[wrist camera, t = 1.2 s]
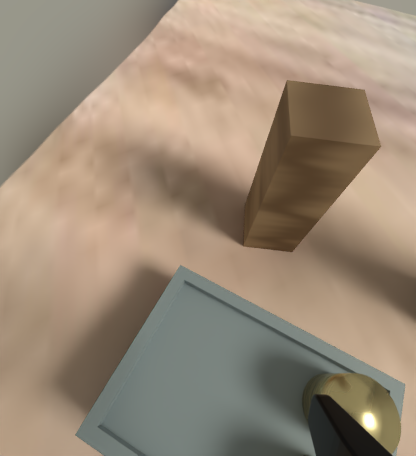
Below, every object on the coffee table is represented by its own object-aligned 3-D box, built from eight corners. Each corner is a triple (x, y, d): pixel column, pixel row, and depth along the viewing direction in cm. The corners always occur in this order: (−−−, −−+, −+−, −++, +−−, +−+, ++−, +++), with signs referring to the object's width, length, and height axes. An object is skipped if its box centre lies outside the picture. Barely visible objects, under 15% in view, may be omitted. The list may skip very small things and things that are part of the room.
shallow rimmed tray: (369, 382, 20) (405, 384, 17) (330, 585, 15) (371, 645, 12) (181, 281, 23) (180, 265, 19) (96, 423, 18) (75, 435, 14)
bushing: (366, 392, 17) (405, 396, 14) (353, 457, 15) (395, 478, 12) (311, 362, 18) (338, 359, 14) (294, 422, 16) (319, 433, 13)
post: (289, 210, 27) (364, 90, 15) (291, 252, 25) (381, 146, 13) (244, 205, 27) (287, 80, 15) (243, 246, 25) (290, 135, 13)
